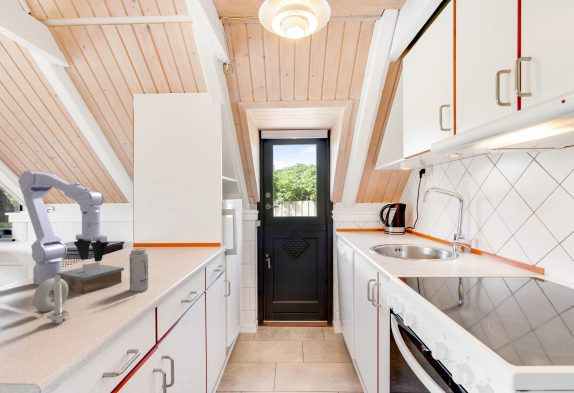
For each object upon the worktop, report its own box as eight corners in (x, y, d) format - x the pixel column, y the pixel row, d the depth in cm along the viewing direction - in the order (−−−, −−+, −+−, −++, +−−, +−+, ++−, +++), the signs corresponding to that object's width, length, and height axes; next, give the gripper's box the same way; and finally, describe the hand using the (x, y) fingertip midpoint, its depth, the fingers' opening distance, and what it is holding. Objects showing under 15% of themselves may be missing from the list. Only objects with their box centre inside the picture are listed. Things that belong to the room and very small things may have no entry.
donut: (40, 318, 86) (39, 283, 86) (30, 317, 87) (29, 282, 87) (71, 305, 96) (71, 274, 96) (62, 305, 97) (62, 273, 96)
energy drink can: (144, 293, 107) (144, 251, 107) (126, 294, 107) (126, 251, 107) (151, 288, 113) (150, 247, 113) (134, 288, 113) (133, 248, 113)
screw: (44, 327, 80) (49, 320, 85) (66, 324, 82) (70, 317, 87) (43, 277, 80) (49, 273, 85) (65, 275, 82) (70, 271, 87)
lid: (56, 275, 111) (56, 265, 110) (97, 266, 124) (97, 257, 124) (84, 280, 104) (83, 269, 104) (123, 270, 118) (123, 260, 118)
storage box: (59, 290, 111) (59, 275, 111) (97, 280, 124) (97, 267, 124) (84, 295, 105) (84, 279, 105) (121, 284, 118) (121, 270, 118)
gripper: (67, 223, 113) (67, 260, 113) (93, 225, 107) (94, 264, 108) (86, 222, 120) (86, 257, 120) (112, 223, 114) (112, 260, 114)
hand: (91, 260), depth 114 cm, fingers open, 7 cm apart
